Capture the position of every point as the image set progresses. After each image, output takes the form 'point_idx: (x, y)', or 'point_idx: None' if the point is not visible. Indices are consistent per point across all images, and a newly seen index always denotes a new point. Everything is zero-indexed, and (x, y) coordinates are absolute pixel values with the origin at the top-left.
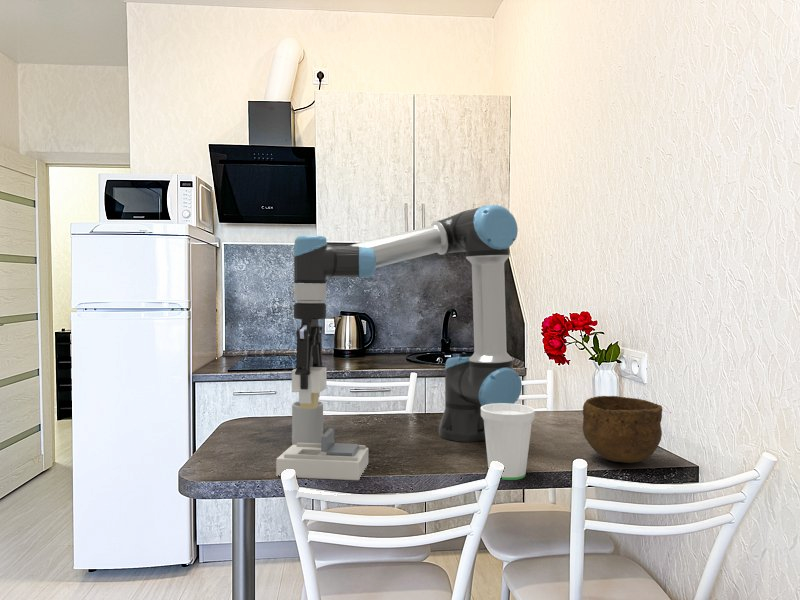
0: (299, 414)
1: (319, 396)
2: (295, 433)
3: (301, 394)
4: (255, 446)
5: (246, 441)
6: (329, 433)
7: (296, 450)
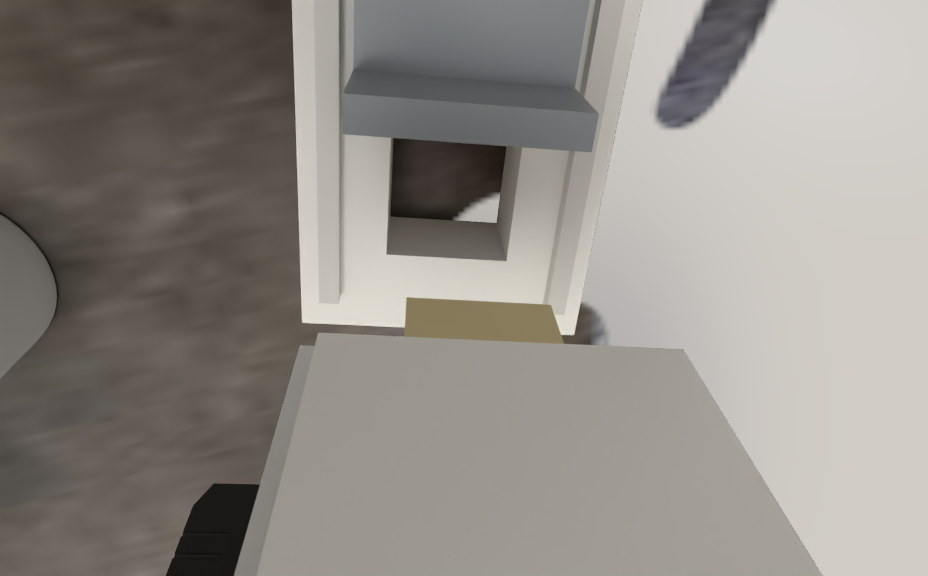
0: None
1: (299, 349)
2: (12, 364)
3: None
4: (121, 480)
5: (54, 531)
6: (500, 106)
7: (417, 278)
